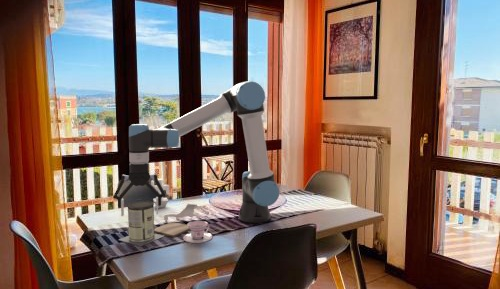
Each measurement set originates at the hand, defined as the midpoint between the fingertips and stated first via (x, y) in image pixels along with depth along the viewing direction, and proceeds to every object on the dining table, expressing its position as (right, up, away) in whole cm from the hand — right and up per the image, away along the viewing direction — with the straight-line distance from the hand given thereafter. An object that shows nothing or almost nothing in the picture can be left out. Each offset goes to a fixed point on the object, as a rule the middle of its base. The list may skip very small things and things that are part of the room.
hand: (140, 214), depth 151 cm
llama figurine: (+15, -8, +25) cm, 30 cm away
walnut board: (+11, -9, +11) cm, 18 cm away
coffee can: (0, -10, +1) cm, 10 cm away
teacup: (+23, -10, +2) cm, 26 cm away
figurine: (-3, -5, +49) cm, 49 cm away
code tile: (0, -10, +1) cm, 10 cm away
